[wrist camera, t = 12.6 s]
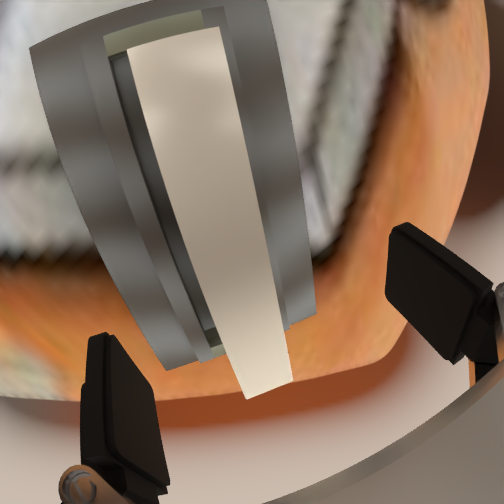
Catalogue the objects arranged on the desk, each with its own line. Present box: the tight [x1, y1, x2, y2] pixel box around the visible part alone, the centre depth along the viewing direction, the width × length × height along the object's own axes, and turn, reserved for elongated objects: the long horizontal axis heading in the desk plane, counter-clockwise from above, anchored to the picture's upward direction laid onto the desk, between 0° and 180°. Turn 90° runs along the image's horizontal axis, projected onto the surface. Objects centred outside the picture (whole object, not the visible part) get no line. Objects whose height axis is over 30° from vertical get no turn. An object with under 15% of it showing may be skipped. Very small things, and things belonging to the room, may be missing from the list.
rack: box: [29, 0, 317, 371], centre depth 19 cm, size 26×14×3 cm, turn 13°
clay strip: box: [127, 26, 293, 399], centre depth 16 cm, size 18×3×8 cm, turn 12°
